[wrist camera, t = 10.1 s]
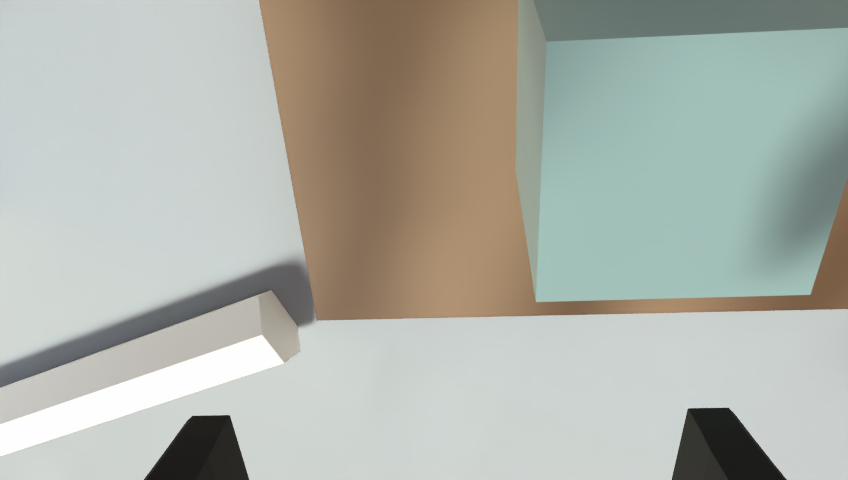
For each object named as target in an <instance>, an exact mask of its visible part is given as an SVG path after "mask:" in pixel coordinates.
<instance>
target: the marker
mask: <svg viewBox="0 0 848 480" xmlns="http://www.w3.org/2000/svg"><path fill="white" fill-rule="evenodd" d="M299 352H300V344H299V336H298V328H297V325H296V324H295V322H294V321H293V319H292V318H291V317H290V315H289V314H288V313H287V311H286V310H285V308H284V307H283V306H282V304H281V303H280V302H279V300H278V299H277V297H276V296H275V295H274V293H273V292H272V291H271V290H269V291H267V292H264V293H261V294H258V295H255V296H253V297H250V298H247V299H244V300H242V301H239V302H236V303H233V304H231V305H228V306H225V307H222V308H219V309H217V310H214V311H211V312H208V313H206V314H203V315H200V316H197V317H194V318H192V319H189V320H186V321H183V322H181V323H178V324H175V325H172V326H169V327H167V328H164V329H161V330H158V331H156V332H153V333H150V334H147V335H144V336H142V337H139V338H136V339H133V340H131V341H128V342H125V343H122V344H120V345H117V346H114V347H111V348H108V349H106V350H103V351H100V352H97V353H95V354H92V355H89V356H86V357H83V358H81V359H78V360H75V361H72V362H70V363H67V364H64V365H61V366H58V367H56V368H53V369H50V370H47V371H45V372H42V373H39V374H36V375H33V376H31V377H28V378H25V379H22V380H20V381H17V382H14V383H11V384H9V385H6V386H3V387H0V456H2V455H5V454H8V453H11V452H14V451H17V450H20V449H24V448H27V447H30V446H33V445H36V444H39V443H42V442H45V441H48V440H51V439H54V438H57V437H60V436H63V435H66V434H69V433H72V432H75V431H78V430H81V429H84V428H87V427H90V426H94V425H97V424H100V423H103V422H106V421H109V420H112V419H115V418H118V417H121V416H124V415H127V414H130V413H133V412H136V411H139V410H142V409H145V408H148V407H151V406H154V405H157V404H161V403H164V402H167V401H170V400H173V399H176V398H179V397H182V396H185V395H188V394H191V393H194V392H197V391H200V390H203V389H206V388H209V387H212V386H215V385H218V384H221V383H224V382H228V381H231V380H234V379H237V378H240V377H243V376H246V375H249V374H252V373H255V372H258V371H261V370H264V369H267V368H270V367H273V366H276V365H279V364H282V363H285V362H286V361H288V360H289V359H290V358H292V357H293V356H294V355H296V354H297V353H299Z"/></svg>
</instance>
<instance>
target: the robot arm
mask: <svg viewBox="0 0 848 480" xmlns="http://www.w3.org/2000/svg"><path fill="white" fill-rule="evenodd" d="M144 480H249V478H248V474H247V471H246V468H245V465H244V461H243V458H242V455H241V451H240V448H239V445H238V441H237V438H236V435H235V431H234V428H233V425H232V421H231V418H230V415H223V416H192V417H191V418H190V419H189V420H188V421H187V422H186V423H185V425H184V426H183V427H182V429H181V430H180V432H179V433H178V434H177V436H176V437H175V438H174V440H173V441H172V442H171V444H170V445H169V447H168V448H167V449H166V451H165V452H164V453H163V455H162V456H161V457H160V459H159V460H158V462H157V463H156V464H155V466H154V467H153V468H152V470H151V471H150V472H149V474H148V475H147V476H146V478H145V479H144ZM672 480H786V478H785V477H784V476H783V475H782V473H781V472H780V471H779V470H778V469H777V467H776V466H775V465H774V464H773V462H772V461H771V460H770V459H769V457H768V456H767V455H766V454H765V452H764V451H763V450H762V449H761V447H760V446H759V445H758V443H757V442H756V441H755V440H754V438H753V437H752V436H751V435H750V433H749V432H748V431H747V429H746V428H745V427H744V426H743V424H742V423H741V422H740V420H739V419H738V418H737V416H736V415H735V414H734V413H733V412H732V411H731V410H730V409H729V408H690V409H688V411H687V415H686V420H685V424H684V428H683V433H682V437H681V442H680V446H679V450H678V455H677V459H676V463H675V468H674V472H673V477H672Z"/></svg>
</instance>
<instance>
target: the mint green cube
mask: <svg viewBox="0 0 848 480" xmlns="http://www.w3.org/2000/svg"><path fill="white" fill-rule="evenodd" d="M515 170H516V177H517V183H518V190H519V196H520V203H521V209H522V215H523V222H524V228H525V235H526V241H527V248H528V254H529V261H530V267H531V274H532V280H533V287H534V293H535V300H536V302H558V301H596V300H633V299H671V298H709V297H747V296H785V295H810V294H811V291H812V288H813V285H814V282H815V279H816V276H817V272H818V269H819V266H820V263H821V260H822V257H823V254H824V250H825V247H826V244H827V241H828V238H829V235H830V232H831V229H832V225H833V222H834V219H835V216H836V213H837V210H838V207H839V204H840V200H841V197H842V194H843V191H844V188H845V185H846V182H847V178H848V0H518V52H517V110H516V167H515Z"/></svg>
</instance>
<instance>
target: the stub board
mask: <svg viewBox="0 0 848 480" xmlns="http://www.w3.org/2000/svg"><path fill="white" fill-rule="evenodd" d="M259 3H260V8H261V14H262V19H263V25H264V30H265V36H266V41H267V47H268V53H269V58H270V64H271V69H272V75H273V80H274V86H275V91H276V97H277V102H278V108H279V113H280V119H281V125H282V130H283V136H284V141H285V147H286V152H287V158H288V163H289V169H290V174H291V180H292V185H293V191H294V197H295V202H296V208H297V213H298V219H299V224H300V230H301V235H302V241H303V246H304V252H305V257H306V263H307V269H308V274H309V280H310V285H311V291H312V296H313V302H314V307H315V313H316V318H317V320H356V319H402V318H448V317H494V316H540V315H587V314H633V313H679V312H725V311H771V310H817V309H848V178H847V182H846V185H845V188H844V191H843V194H842V197H841V200H840V204H839V207H838V210H837V213H836V216H835V219H834V222H833V225H832V229H831V232H830V235H829V238H828V241H827V244H826V247H825V250H824V254H823V257H822V260H821V263H820V266H819V269H818V272H817V276H816V279H815V282H814V285H813V288H812V291H811V294H810V295H785V296H747V297H709V298H671V299H633V300H596V301H558V302H536V300H535V293H534V287H533V280H532V274H531V267H530V261H529V254H528V248H527V241H526V235H525V228H524V222H523V215H522V209H521V203H520V196H519V190H518V183H517V177H516V170H515V167H516V110H517V52H518V0H259Z"/></svg>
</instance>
